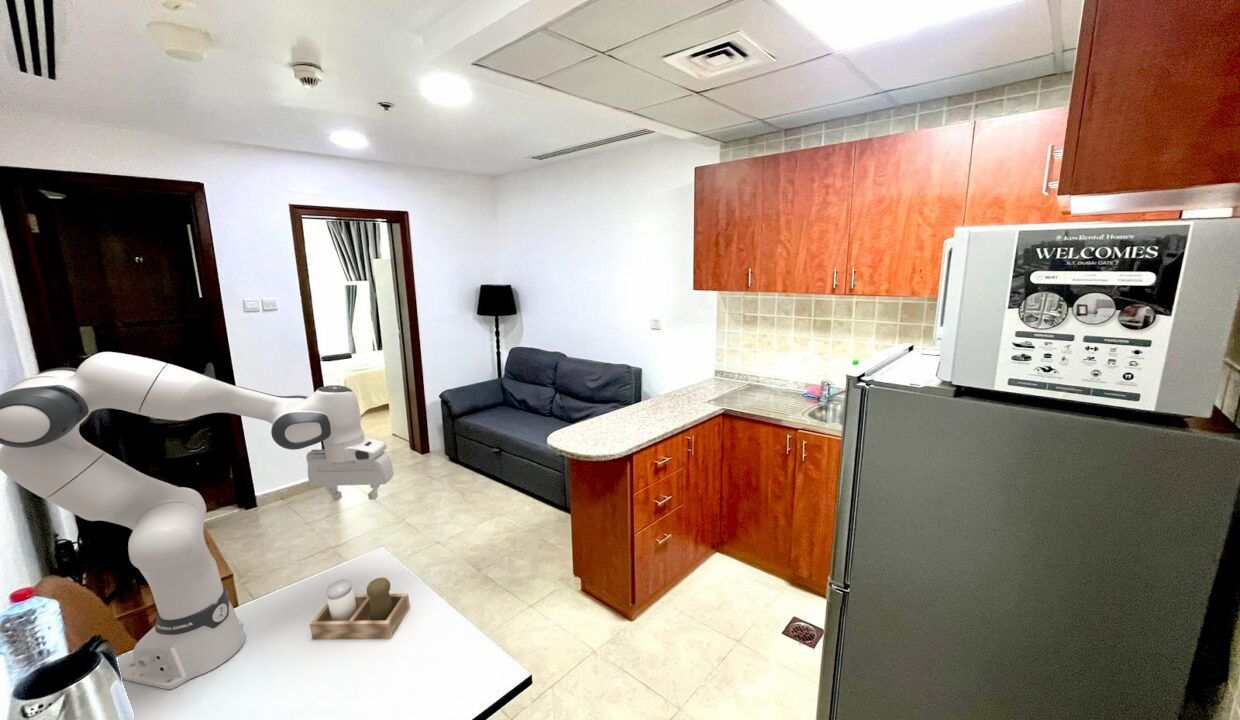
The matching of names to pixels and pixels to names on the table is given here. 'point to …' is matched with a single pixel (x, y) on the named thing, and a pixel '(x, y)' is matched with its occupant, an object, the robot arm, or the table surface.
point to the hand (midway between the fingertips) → (355, 499)
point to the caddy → (361, 621)
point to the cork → (379, 599)
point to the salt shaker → (341, 600)
